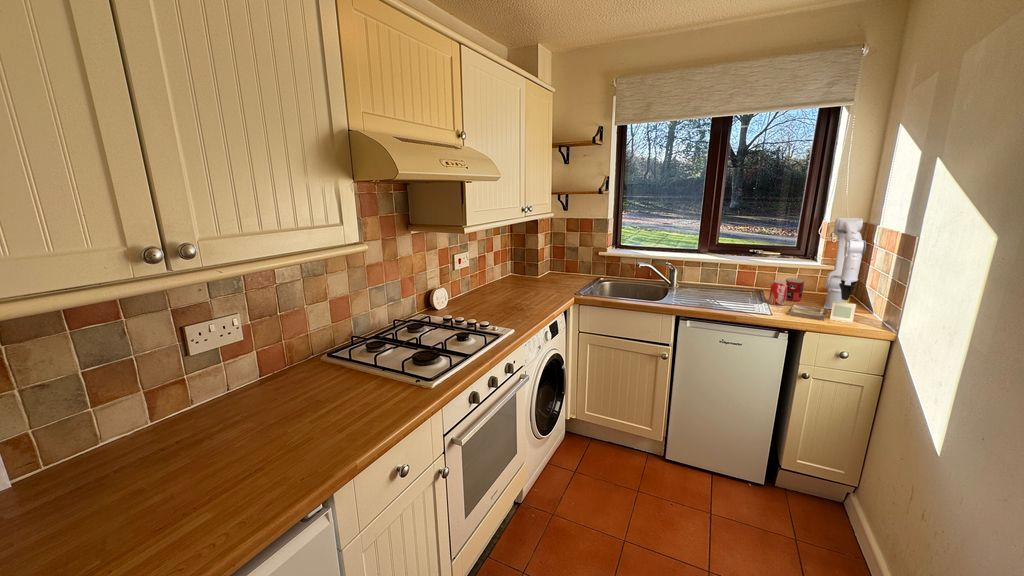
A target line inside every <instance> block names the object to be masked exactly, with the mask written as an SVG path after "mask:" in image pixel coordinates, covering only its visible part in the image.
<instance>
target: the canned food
mask: <svg viewBox="0 0 1024 576" xmlns="http://www.w3.org/2000/svg"><path fill="white" fill-rule="evenodd" d="M785 282H787V286H788V288H787V295H786V301H787V302H792V301H793V303H795V302H798V303H799V302H801V301H802V296H803V291H804V286H805V280H804V279H801V278H792V277H791V278H790V277H788V278H786V279H785Z"/></svg>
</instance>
